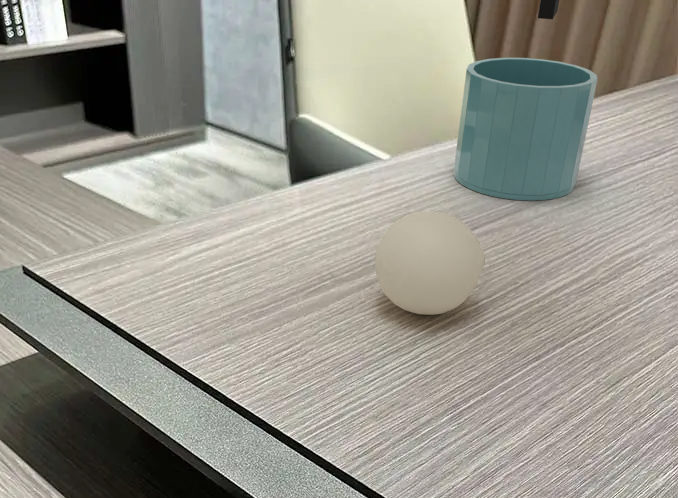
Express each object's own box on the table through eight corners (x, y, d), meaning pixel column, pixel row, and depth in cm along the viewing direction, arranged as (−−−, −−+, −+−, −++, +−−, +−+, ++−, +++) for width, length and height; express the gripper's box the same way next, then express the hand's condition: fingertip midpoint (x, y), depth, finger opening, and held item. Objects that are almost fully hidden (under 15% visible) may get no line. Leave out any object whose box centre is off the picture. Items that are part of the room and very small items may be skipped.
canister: (552, 159, 83) (572, 58, 78) (592, 200, 73) (617, 88, 68) (443, 159, 82) (455, 57, 77) (468, 200, 73) (484, 87, 68)
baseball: (500, 314, 55) (515, 222, 52) (416, 342, 52) (427, 246, 48) (433, 274, 60) (444, 188, 56) (353, 298, 56) (359, 208, 53)
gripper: (165, -526, 35) (188, -2, 46) (821, -619, 28) (664, 36, 38) (236, -471, 41) (241, -19, 52) (790, -534, 34) (662, 11, 44)
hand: (420, 6), depth 45 cm, fingers open, 13 cm apart
